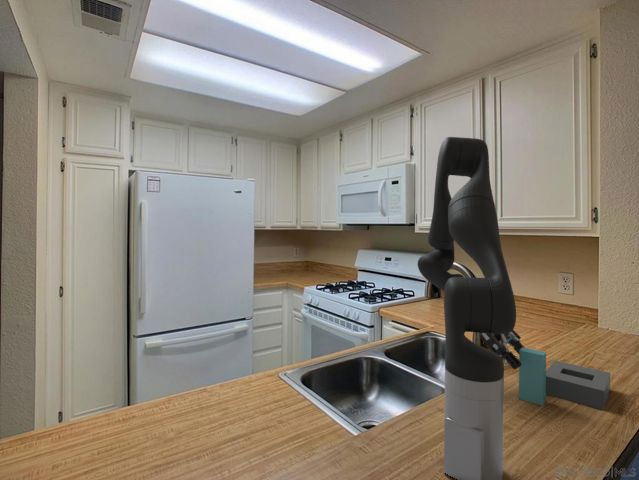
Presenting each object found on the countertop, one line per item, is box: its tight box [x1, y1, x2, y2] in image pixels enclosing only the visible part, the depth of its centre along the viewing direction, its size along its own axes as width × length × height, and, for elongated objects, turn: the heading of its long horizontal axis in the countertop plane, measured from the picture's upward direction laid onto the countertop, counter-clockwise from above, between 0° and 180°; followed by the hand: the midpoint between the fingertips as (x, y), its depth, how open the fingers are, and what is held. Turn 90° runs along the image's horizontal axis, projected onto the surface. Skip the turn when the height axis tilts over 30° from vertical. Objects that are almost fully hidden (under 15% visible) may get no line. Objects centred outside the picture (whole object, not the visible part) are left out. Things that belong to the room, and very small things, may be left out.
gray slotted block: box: [546, 360, 611, 411], centre depth 87 cm, size 14×12×4 cm
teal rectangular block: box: [518, 346, 547, 407], centre depth 83 cm, size 3×5×12 cm, turn 45°
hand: (523, 362), depth 84 cm, fingers open, 8 cm apart
